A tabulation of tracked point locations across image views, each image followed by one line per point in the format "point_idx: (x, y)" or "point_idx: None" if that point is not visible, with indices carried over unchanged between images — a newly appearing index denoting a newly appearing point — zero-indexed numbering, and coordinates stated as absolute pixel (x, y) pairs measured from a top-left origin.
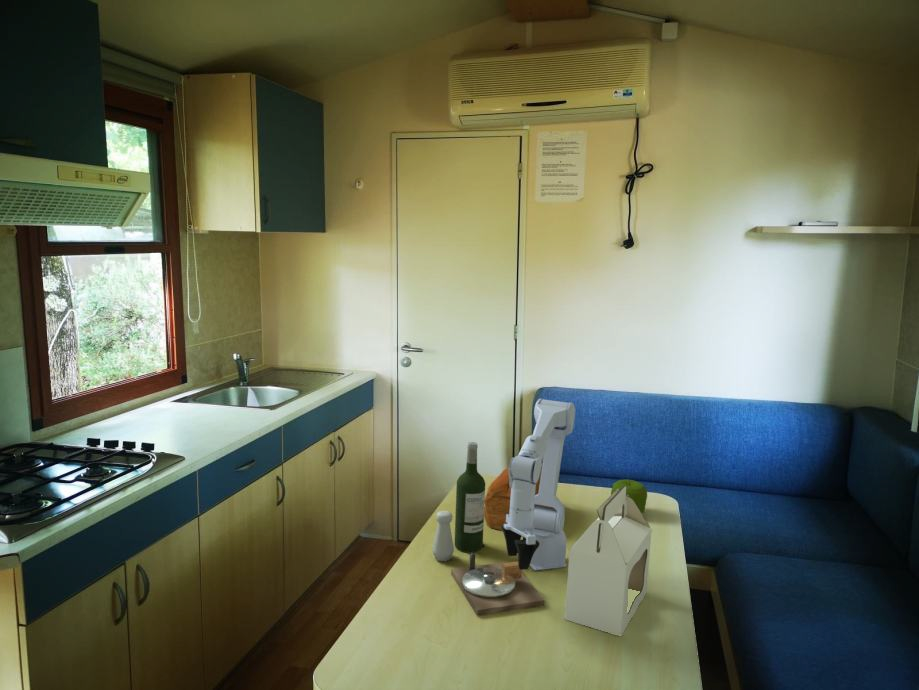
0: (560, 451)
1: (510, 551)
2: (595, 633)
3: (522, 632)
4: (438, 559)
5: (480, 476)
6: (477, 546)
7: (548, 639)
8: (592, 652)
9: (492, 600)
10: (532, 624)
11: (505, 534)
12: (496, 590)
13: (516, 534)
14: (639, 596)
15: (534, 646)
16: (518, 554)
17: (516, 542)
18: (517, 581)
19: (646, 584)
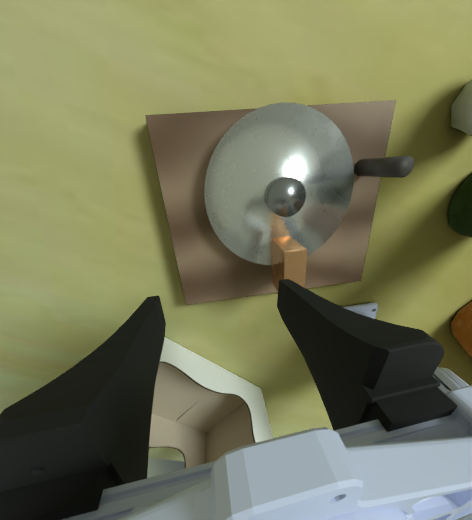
0: None
1: (286, 296)
2: (85, 355)
3: (73, 224)
4: (470, 82)
5: None
6: (460, 217)
7: (50, 272)
8: (13, 337)
9: (196, 182)
10: (112, 255)
11: (344, 331)
12: (223, 202)
13: (328, 380)
14: (167, 442)
15: (11, 235)
16: (120, 340)
17: (6, 437)
18: None
19: (202, 454)
